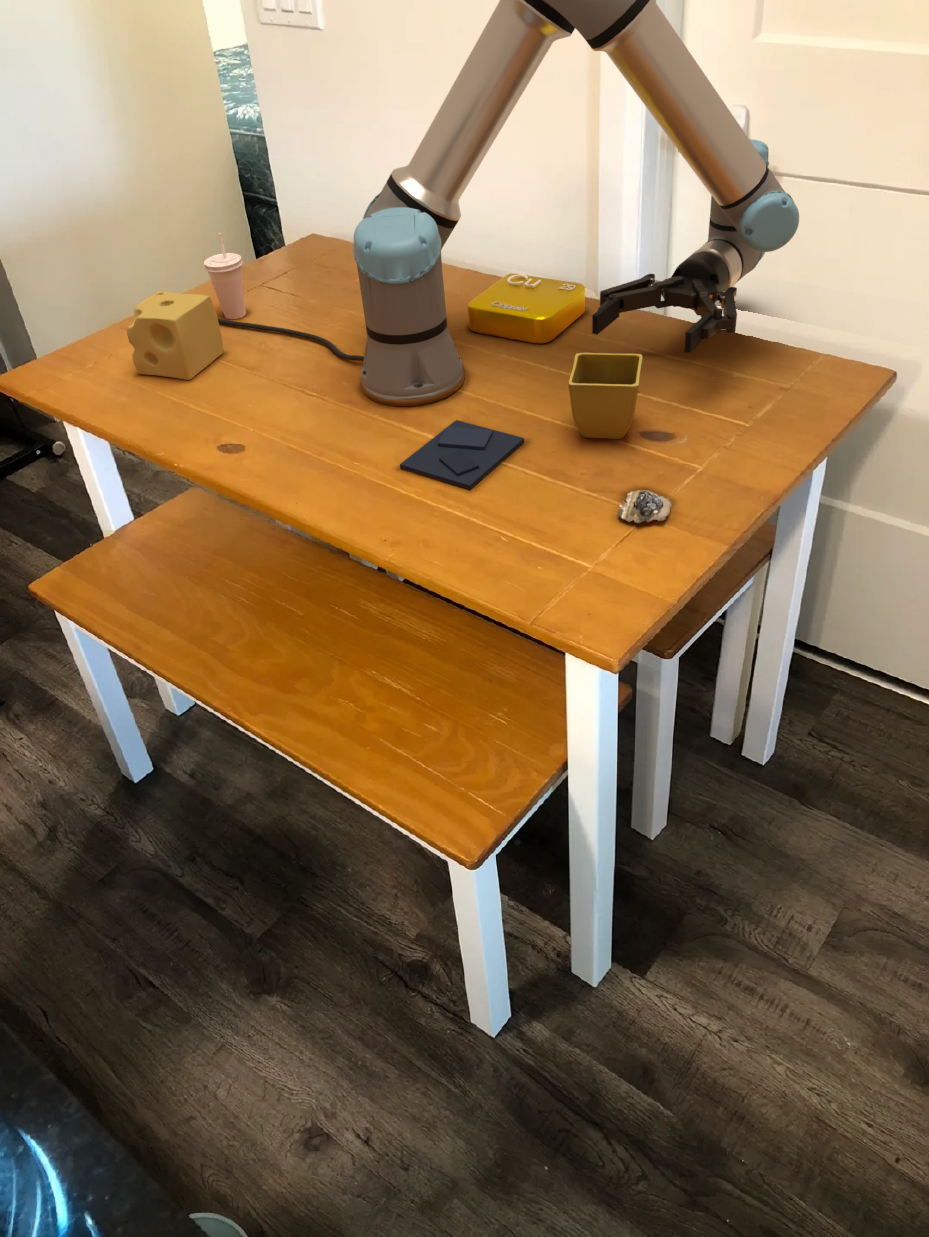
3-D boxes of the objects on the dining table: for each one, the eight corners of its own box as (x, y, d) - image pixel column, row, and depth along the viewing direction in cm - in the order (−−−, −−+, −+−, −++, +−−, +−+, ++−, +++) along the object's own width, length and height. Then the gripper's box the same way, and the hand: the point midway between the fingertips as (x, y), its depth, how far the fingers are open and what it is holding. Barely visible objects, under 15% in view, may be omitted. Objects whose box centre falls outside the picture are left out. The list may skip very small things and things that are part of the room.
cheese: (136, 375, 156) (117, 314, 150) (175, 346, 163) (159, 287, 157) (191, 382, 152) (174, 320, 146) (229, 352, 160) (214, 292, 154)
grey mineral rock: (620, 530, 114) (620, 516, 113) (609, 492, 120) (609, 479, 119) (678, 524, 114) (679, 511, 113) (664, 487, 120) (665, 474, 119)
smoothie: (250, 321, 169) (231, 239, 160) (213, 323, 169) (192, 241, 160) (256, 306, 174) (238, 225, 165) (221, 308, 174) (201, 228, 165)
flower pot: (635, 448, 127) (638, 385, 122) (568, 446, 129) (567, 383, 123) (640, 415, 134) (642, 353, 128) (576, 413, 136) (575, 352, 130)
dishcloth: (400, 468, 128) (399, 460, 127) (456, 424, 136) (455, 416, 135) (470, 490, 123) (469, 481, 122) (524, 442, 131) (524, 434, 130)
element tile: (464, 331, 159) (462, 302, 156) (510, 296, 169) (509, 268, 165) (546, 346, 153) (545, 317, 149) (589, 309, 162) (589, 280, 159)
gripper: (786, 315, 140) (726, 377, 128) (628, 288, 152) (559, 343, 139) (793, 263, 136) (732, 322, 123) (629, 239, 147) (558, 291, 135)
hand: (639, 333), depth 131 cm, fingers open, 13 cm apart
